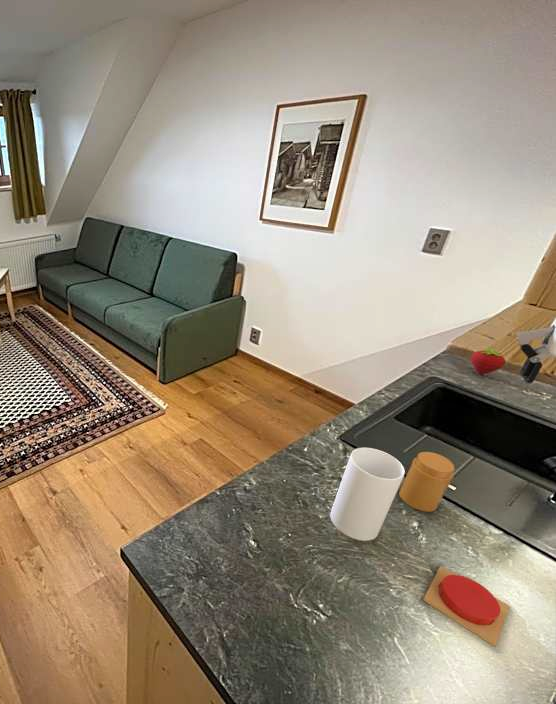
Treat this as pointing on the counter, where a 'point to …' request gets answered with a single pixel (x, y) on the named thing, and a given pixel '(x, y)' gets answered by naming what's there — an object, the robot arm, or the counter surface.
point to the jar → (427, 481)
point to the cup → (366, 493)
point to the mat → (483, 631)
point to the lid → (469, 600)
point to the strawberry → (487, 361)
